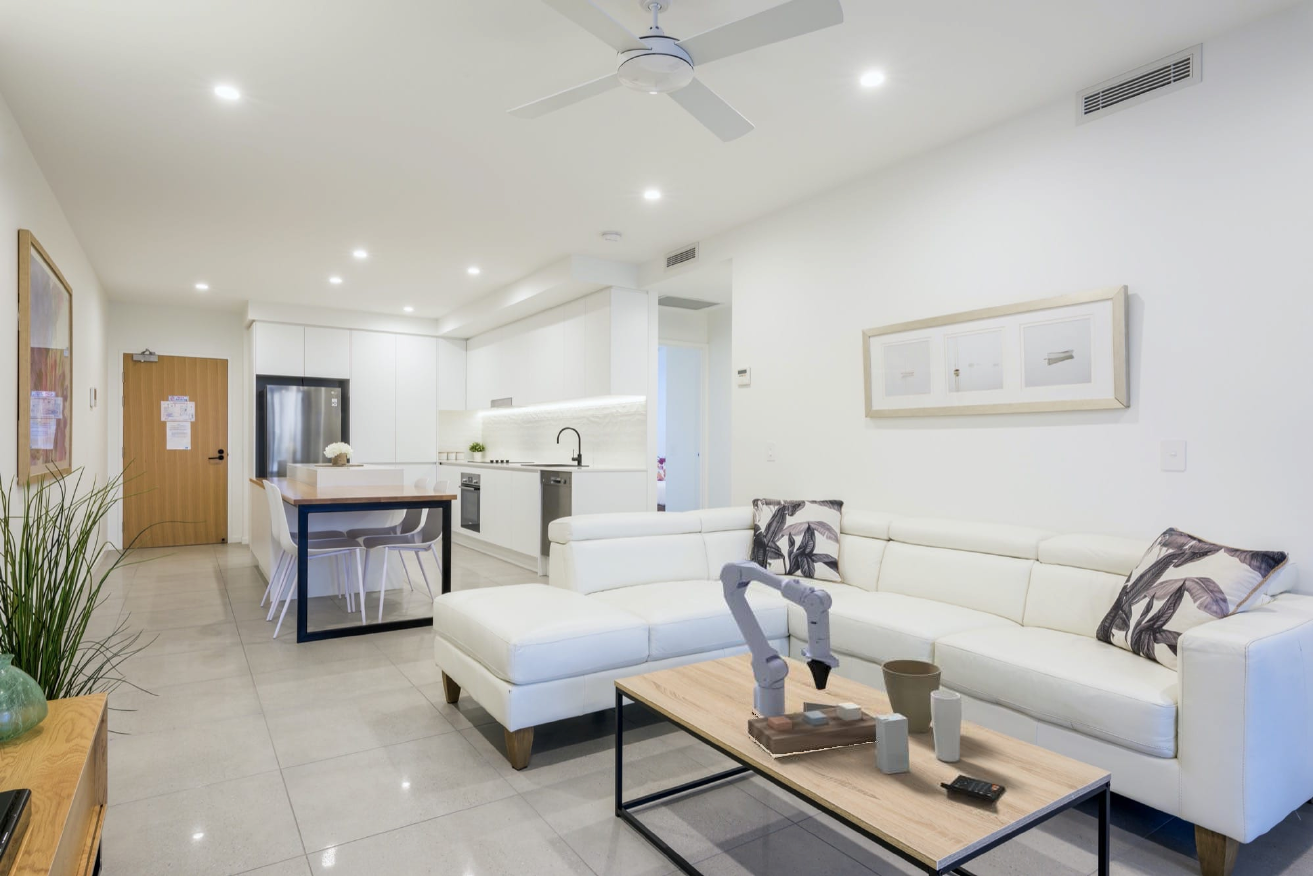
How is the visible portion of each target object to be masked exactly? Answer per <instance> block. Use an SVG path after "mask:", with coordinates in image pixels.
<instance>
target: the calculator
mask: <svg viewBox="0 0 1313 876" xmlns="http://www.w3.org/2000/svg"><path fill="white" fill-rule="evenodd" d="M939 786H940V788H943V789H944V790H946V791H951V792H952V793H953V792H954V793H955V794H956V793H957V794H961V795H964V796H966V797H967V796H968V797H971V798H975V799H978V800H980V801H981V800H982V801H985V802H989V803H991V804H994V803H995V802H996V801H997V800H998V798H1000V796H1001V795H1002V794H1003V793H1004V791H1005V790H1006V786H1005V785H1004V786H1003V785H999V784H996V783H992V782H988V781H985V780H981V779H979V778H974V777H970V776H967V775H963V774H959V775H958V776H957V777H955V779H953V780H952V781H951V782H950V783H949V784H948V783H945V782H942V781H941V782H940V785H939ZM1000 794H1001V795H1000Z"/></svg>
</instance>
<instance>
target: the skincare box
mask: <svg viewBox="0 0 1313 876" xmlns="http://www.w3.org/2000/svg"><path fill="white" fill-rule="evenodd" d="M875 718H876V742H875V743H876V768H878V769H879V770H880V771H881V772H882V773H884V774H886V775H891V774H899V773H905V772H910V749H909V747H910V746H909V744H910V743H909V732H908V719H907V718H906V717H904V716H902V715H900V714H898V713H887V714H880V715H879V714H877V715H875Z"/></svg>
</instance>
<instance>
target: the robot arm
mask: <svg viewBox="0 0 1313 876" xmlns="http://www.w3.org/2000/svg"><path fill="white" fill-rule="evenodd" d="M719 579H720V581H721V583H722V589H723V598H724V600H725V603H726V604H727V606H728V608H729V610H730V611H731V614H732V617H733V618H734V621H735V623H736V624H737V626H738V628H739V630H740V632H741V634H742V636H743V639H744V640H745V643H746V644H747V646H748V649H749V651H750V652H751V654H752V655H751V659H750V660H751V661H750V666H751V668H752V671H753V673H752V674H753V679H754V680H755V682H756V683H755V684H754V686H753V710H754V709H756V710H757V711H758V712H759V714H760V715H762V716H764V717H770V716H778V715H785V714H786V698H785V697H786V696H785V695H786V693H785V692H786V691H785V690H786V689H785V688H786V687H785V686H786V685H785V681H786V680H785V679H786V678H787V676H788V674H789V671H790V669H789V665H788V663H787V661H786V659H784V658H782V656H781V655H780V653H779V652H778V650H776V649H775V648H773V647H772V646H771V645H770V643H769V641H768V640H767V638H766V636H765V634H764V632H763V630H762V627H761V626H760V624H759V622H758V620H757V618H756V616H755V614H754V612H753V610H752V609H751V607H750V604H749V602H748V600H747V598H746V596H745V594H746V591H747V589H748V586H749V585H750V584H751V582H755V581H756V582H758V583H761V584H763V585H765V586H767V587H770V588H772V589H774V590H777V591H779V592H780V594H781V596H782V598H783V599H785V600H787V601H790V603H791V602H792V603H794V604H795V605H798V606H800V607H802V608H803V610H804V612H805V613H806V619H807V645H808V647H802V648H800V650H801V654H800V655H801V656H802V657H805V658H806V659H808V661H807V662H806V666H807V667H808V668H809V671H810V673H811V675H812V678H813V679H812V680H813V682H814V685H815V689H816V690H818V691H821V690H826V688H827V682H828V679H829V675H830V673H831V670H832V669H835V668H836V669H837V668H840V659H838V658H836V657H835V655H833V654H832V653H831V635H830V633H831V632H830V631H831V630H830V612H829V611H830V609H831V607H832V606H833V599H832V597H831V595H830V594H829V593H828V592H827V591H826V590H825V589H822V588H821V589H817V590H816V589H815V586H809V585H806V584H805V583H802V582H800V579H799V578H797V577H795V578H788V579H784V578H783V577H781V576H779V575H777V574H775V573H774V572H772V571H770V570H768V569H766V568H764V566H763V567H762V566H761V565H759V563H757V562H754V561H751V560H750V559H746V558H743V559H741V560H738V561H737V560H736V561H733V562H727V563H725V564H724V565H723V566H722V568H721V570H720V573H719ZM809 659H810V660H809Z"/></svg>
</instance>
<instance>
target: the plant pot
mask: <svg viewBox="0 0 1313 876" xmlns="http://www.w3.org/2000/svg"><path fill="white" fill-rule="evenodd" d="M881 670H882V674H883V681H884V685H885V689H886V694H887V698H888V700H889V704H890V706H891V707H890V708H891V710H892V712H893V713H892V714H894V713H898V714H900V715H902V716H904V717H906V718H907V719H908V733H914V732H916V733H925V732H927V731H928V730H929V729H930V727H931V723H932V715H931V692H932V691H936V690H940V684H941V674H942V668H941V666H939V665H938V664H935V663H933V662H929V661H925V660H917V659H893V660H892V659H891V660H887V661H886V662H882V664H881Z"/></svg>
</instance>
